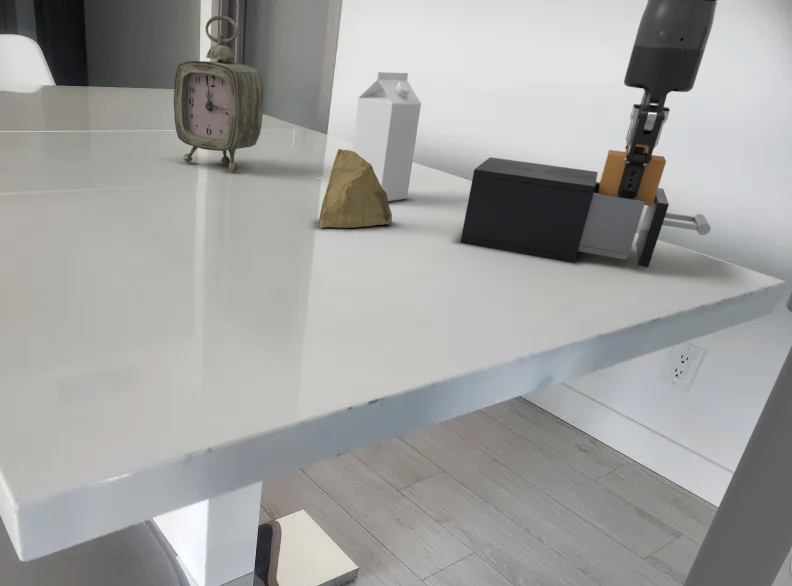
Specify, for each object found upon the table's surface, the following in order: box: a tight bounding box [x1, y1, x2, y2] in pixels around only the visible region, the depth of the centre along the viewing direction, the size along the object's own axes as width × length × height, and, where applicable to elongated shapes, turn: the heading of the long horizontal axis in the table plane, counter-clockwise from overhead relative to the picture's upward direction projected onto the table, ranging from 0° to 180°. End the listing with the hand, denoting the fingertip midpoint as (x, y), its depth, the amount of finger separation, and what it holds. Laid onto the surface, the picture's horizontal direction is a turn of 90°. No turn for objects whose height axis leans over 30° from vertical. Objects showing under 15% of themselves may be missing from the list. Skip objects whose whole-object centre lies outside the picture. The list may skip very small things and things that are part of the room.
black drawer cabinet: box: [460, 156, 599, 264], centre depth 91 cm, size 15×13×10 cm
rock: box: [318, 148, 393, 229], centre depth 93 cm, size 11×9×10 cm
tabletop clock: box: [173, 15, 264, 173], centre depth 121 cm, size 14×9×25 cm, turn 56°
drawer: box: [577, 181, 712, 268], centre depth 87 cm, size 19×11×8 cm, turn 66°
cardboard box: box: [597, 149, 667, 207], centre depth 85 cm, size 6×5×5 cm
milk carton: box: [352, 71, 422, 202], centre depth 108 cm, size 7×7×19 cm
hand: (626, 193), depth 86 cm, fingers closed on cardboard box, 4 cm apart
